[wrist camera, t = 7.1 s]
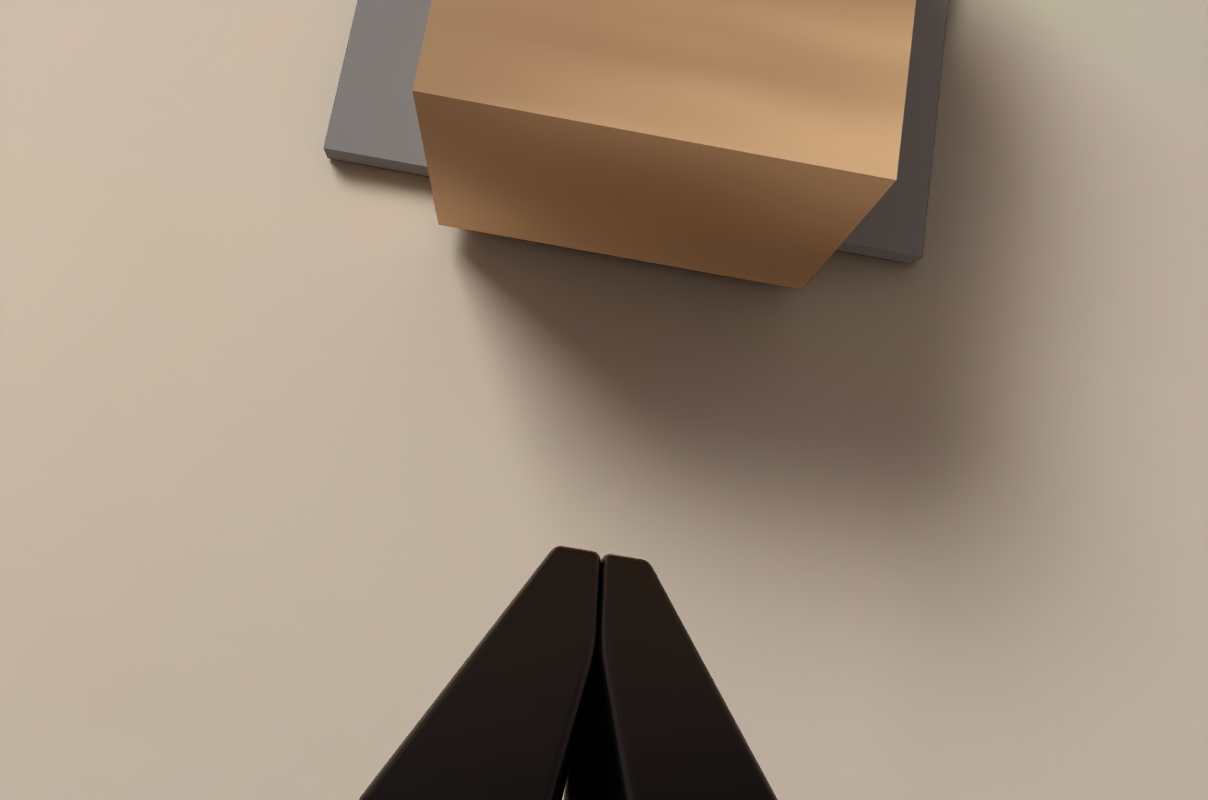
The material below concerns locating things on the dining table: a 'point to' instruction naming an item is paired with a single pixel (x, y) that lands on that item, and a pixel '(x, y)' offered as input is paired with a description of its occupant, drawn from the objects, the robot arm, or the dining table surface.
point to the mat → (393, 141)
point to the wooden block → (666, 125)
